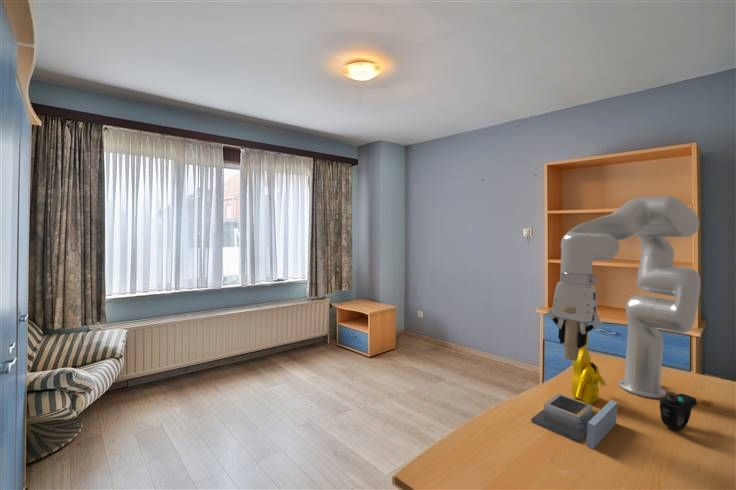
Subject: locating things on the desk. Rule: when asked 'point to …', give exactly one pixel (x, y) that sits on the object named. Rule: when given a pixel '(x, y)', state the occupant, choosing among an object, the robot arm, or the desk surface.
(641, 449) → the desk surface
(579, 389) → the figure statuette
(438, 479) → the desk surface
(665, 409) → the controller
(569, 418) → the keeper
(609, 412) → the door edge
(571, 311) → the handle
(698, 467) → the desk surface
